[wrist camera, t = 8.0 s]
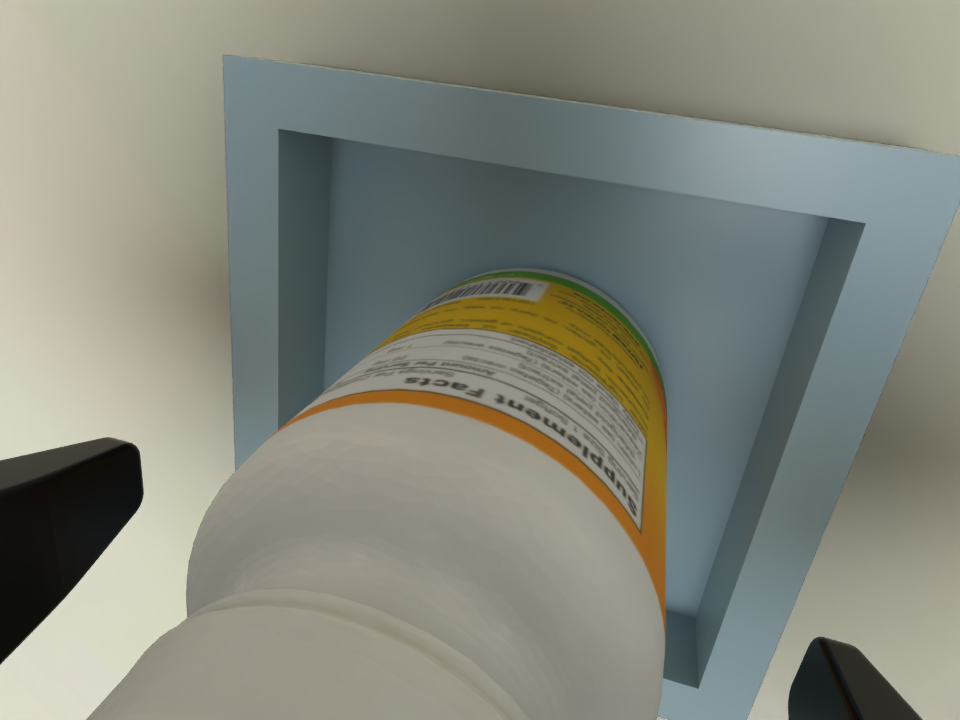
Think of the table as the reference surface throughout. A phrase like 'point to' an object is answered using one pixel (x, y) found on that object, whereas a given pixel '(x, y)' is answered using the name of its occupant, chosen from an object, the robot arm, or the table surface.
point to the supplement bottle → (441, 531)
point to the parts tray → (617, 273)
